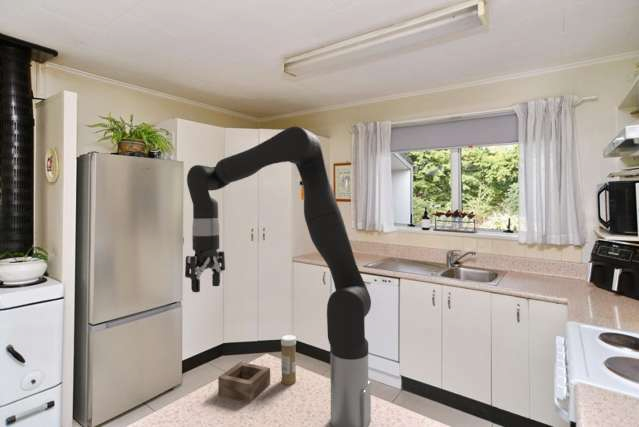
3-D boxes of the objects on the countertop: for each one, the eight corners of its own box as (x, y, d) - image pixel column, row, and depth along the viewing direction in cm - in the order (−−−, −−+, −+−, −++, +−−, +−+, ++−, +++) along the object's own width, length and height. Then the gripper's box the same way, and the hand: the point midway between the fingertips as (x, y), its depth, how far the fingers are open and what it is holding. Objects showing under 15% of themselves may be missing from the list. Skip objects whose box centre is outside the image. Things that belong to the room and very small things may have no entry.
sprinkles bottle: (298, 382, 101) (298, 338, 101) (285, 386, 99) (285, 341, 99) (291, 376, 105) (291, 333, 105) (278, 380, 103) (278, 336, 103)
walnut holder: (270, 384, 100) (270, 367, 100) (249, 403, 90) (249, 384, 90) (240, 378, 104) (240, 361, 104) (218, 395, 94) (218, 377, 94)
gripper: (198, 235, 91) (199, 295, 91) (231, 232, 104) (231, 285, 104) (177, 235, 94) (178, 293, 94) (212, 232, 107) (212, 283, 107)
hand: (206, 288), depth 99 cm, fingers open, 8 cm apart
